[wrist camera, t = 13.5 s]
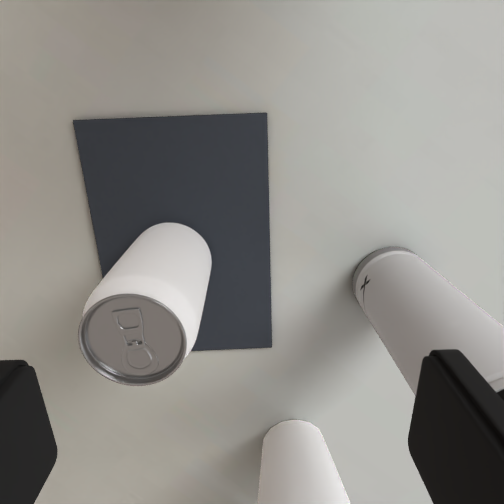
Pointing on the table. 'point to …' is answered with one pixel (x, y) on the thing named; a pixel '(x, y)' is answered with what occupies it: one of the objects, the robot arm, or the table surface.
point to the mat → (190, 206)
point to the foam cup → (298, 467)
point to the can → (147, 307)
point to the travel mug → (426, 315)
